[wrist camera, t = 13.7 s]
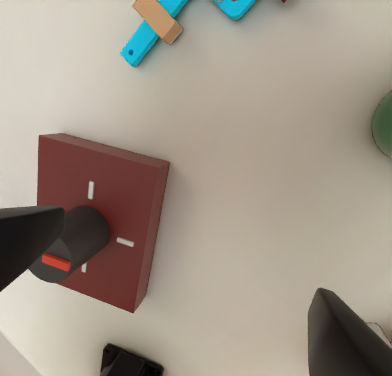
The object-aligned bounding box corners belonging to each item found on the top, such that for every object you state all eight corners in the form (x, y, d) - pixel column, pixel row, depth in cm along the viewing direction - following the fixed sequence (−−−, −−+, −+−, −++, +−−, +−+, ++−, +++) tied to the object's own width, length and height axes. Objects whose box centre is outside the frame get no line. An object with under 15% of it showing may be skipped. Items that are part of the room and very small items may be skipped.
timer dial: (65, 243, 23) (15, 274, 19) (68, 199, 22) (15, 221, 17) (107, 257, 22) (66, 293, 18) (112, 213, 21) (69, 240, 17)
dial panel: (146, 295, 26) (132, 315, 23) (55, 261, 27) (33, 276, 25) (169, 162, 22) (156, 168, 19) (61, 132, 23) (36, 135, 21)
